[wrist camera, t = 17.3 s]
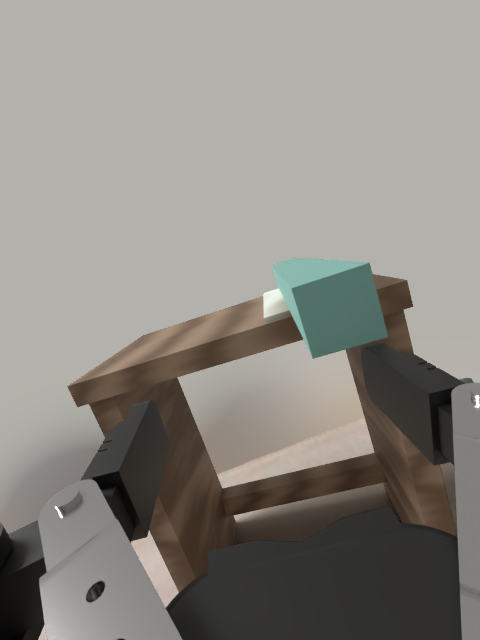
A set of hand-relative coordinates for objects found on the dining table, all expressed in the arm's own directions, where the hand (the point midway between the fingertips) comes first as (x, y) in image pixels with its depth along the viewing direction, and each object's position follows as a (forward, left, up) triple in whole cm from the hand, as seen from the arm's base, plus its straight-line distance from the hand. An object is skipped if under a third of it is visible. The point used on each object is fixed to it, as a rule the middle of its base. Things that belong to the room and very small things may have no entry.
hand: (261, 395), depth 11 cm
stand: (-12, +15, -32) cm, 38 cm away
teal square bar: (-4, +14, 0) cm, 15 cm away
